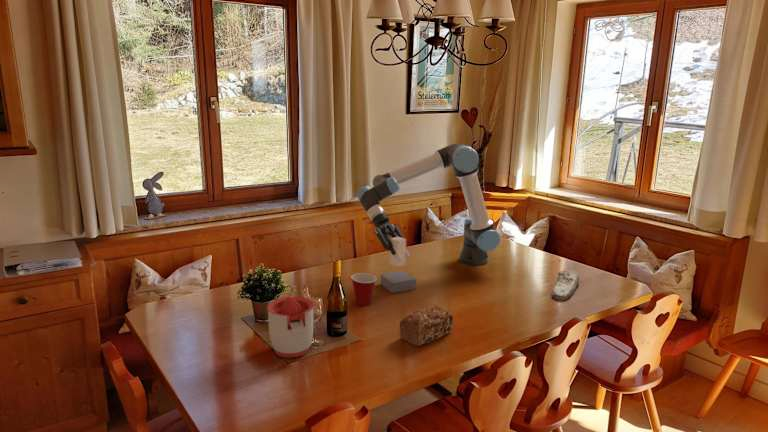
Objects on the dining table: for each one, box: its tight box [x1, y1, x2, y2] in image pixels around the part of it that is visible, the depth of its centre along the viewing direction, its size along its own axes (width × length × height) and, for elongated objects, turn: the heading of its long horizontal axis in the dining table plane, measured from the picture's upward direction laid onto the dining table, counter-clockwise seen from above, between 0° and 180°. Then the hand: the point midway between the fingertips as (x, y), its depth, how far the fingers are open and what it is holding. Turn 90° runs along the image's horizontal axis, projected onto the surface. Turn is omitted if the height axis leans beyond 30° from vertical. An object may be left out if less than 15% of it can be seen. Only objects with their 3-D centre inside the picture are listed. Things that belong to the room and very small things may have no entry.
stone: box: [551, 270, 580, 301], centre depth 245 cm, size 35×5×10 cm
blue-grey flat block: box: [380, 270, 417, 293], centre depth 243 cm, size 12×12×5 cm
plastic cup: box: [350, 272, 378, 307], centre depth 223 cm, size 11×11×12 cm
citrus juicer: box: [266, 296, 315, 359], centre depth 181 cm, size 16×17×20 cm
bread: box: [399, 305, 454, 347], centre depth 196 cm, size 19×11×10 cm, turn 132°
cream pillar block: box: [389, 237, 407, 267], centre depth 240 cm, size 5×5×12 cm
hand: (403, 258), depth 238 cm, fingers closed on cream pillar block, 5 cm apart
